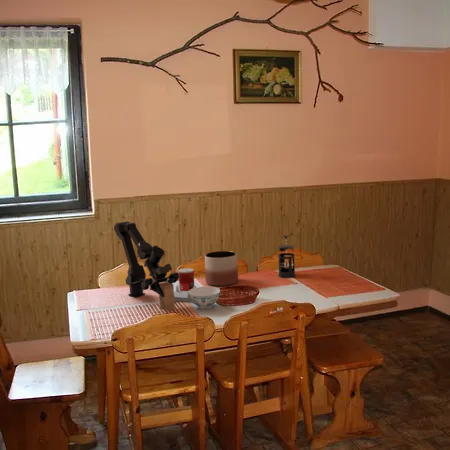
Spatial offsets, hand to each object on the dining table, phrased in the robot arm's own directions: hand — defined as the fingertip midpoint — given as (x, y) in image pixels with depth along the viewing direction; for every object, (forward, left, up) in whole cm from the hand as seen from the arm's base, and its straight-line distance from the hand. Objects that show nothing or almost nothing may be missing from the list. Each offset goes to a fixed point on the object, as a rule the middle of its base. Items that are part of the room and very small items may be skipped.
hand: (168, 295), depth 260 cm
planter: (-5, +48, -7) cm, 49 cm away
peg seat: (-5, +16, -7) cm, 18 cm away
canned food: (-12, +27, -7) cm, 31 cm away
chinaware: (+13, +11, -7) cm, 18 cm away
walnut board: (-1, 0, -7) cm, 7 cm away
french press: (+19, +76, -7) cm, 79 cm away
